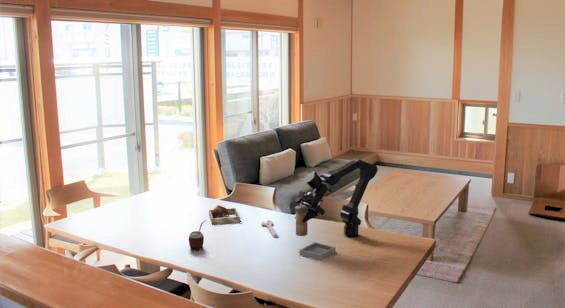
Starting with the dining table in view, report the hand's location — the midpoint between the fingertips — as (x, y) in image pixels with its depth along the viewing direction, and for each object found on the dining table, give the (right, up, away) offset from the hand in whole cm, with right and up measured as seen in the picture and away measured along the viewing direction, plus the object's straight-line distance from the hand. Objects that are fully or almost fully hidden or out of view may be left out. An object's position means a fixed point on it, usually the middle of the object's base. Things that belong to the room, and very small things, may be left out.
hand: (299, 220), depth 252 cm
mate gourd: (-49, -14, +2) cm, 51 cm away
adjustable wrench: (-15, -9, +28) cm, 33 cm away
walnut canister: (+1, -7, +2) cm, 7 cm away
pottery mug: (-43, -5, +50) cm, 66 cm away
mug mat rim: (-41, -5, +49) cm, 64 cm away
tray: (+8, -15, -6) cm, 18 cm away
